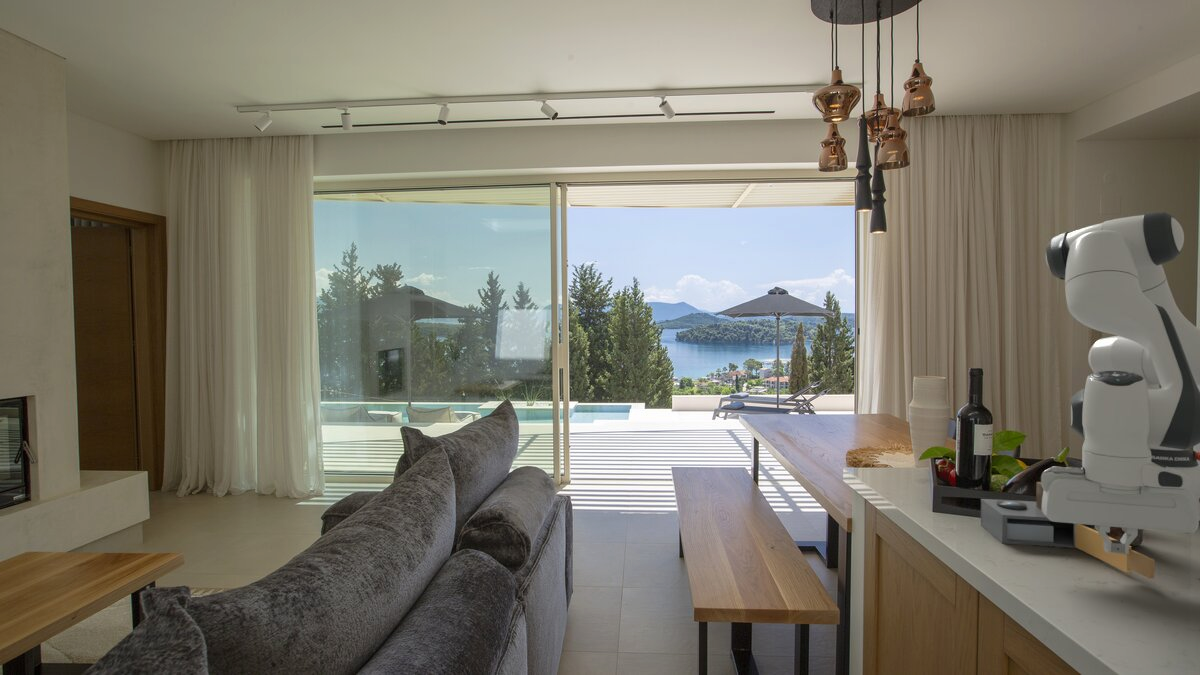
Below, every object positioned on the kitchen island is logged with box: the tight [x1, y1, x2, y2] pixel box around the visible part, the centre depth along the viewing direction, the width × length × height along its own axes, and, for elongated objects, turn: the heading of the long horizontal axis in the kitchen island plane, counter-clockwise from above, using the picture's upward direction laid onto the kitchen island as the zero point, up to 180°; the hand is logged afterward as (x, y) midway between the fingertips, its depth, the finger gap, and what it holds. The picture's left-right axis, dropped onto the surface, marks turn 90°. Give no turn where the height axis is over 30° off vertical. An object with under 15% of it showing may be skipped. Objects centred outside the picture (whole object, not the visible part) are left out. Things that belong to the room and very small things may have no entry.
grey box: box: [980, 498, 1097, 549], centre depth 122 cm, size 16×11×6 cm
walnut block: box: [1035, 481, 1044, 510], centre depth 120 cm, size 5×5×5 cm
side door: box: [1073, 523, 1156, 580], centre depth 107 cm, size 17×1×5 cm, turn 178°
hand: (1116, 552), depth 103 cm, fingers closed
